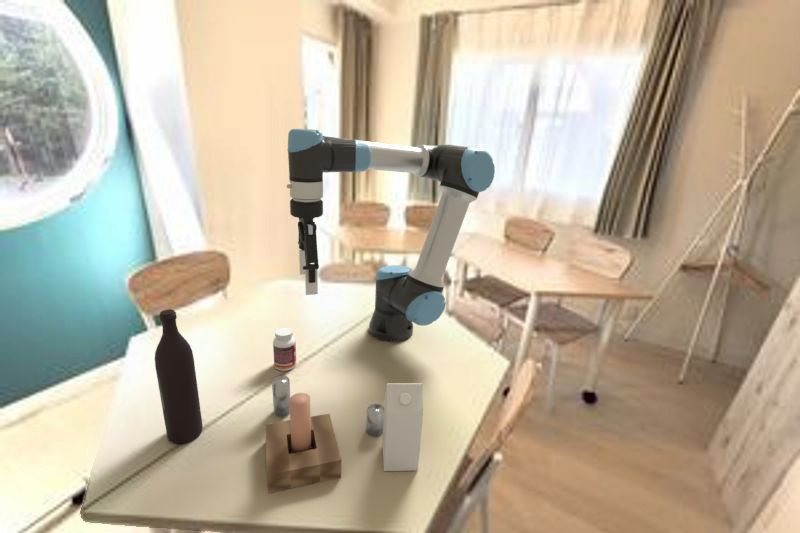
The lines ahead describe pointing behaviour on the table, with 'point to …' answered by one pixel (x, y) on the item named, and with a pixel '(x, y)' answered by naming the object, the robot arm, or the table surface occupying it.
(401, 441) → the milk carton
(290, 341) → the pill bottle
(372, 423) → the short pin
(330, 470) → the hole block
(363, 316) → the table surface
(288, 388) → the medium pin
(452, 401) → the table surface
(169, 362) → the wine bottle
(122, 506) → the table surface
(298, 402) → the long pin
